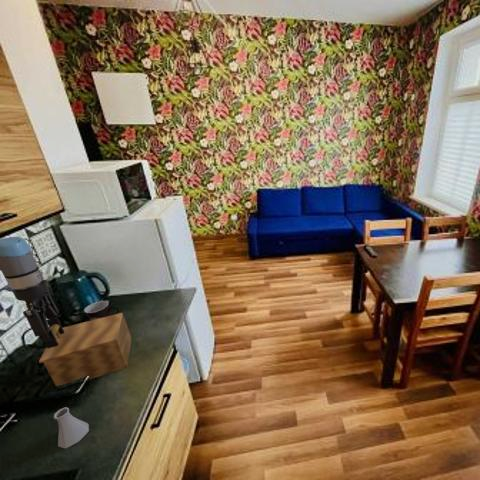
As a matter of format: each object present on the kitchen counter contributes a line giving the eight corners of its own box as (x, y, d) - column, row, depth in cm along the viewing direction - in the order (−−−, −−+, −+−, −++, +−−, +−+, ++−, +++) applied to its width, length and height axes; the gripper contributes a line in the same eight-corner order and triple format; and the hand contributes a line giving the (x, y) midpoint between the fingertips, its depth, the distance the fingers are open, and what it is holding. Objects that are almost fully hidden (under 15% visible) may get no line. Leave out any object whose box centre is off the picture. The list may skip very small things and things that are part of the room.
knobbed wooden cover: (39, 363, 87) (31, 348, 84) (56, 331, 100) (50, 317, 98) (116, 340, 96) (111, 326, 93) (122, 314, 110) (118, 301, 107)
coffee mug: (86, 329, 120) (79, 311, 116) (105, 317, 128) (98, 299, 124) (107, 333, 117) (100, 315, 114) (124, 320, 125) (118, 303, 121)
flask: (83, 418, 83) (72, 396, 79) (94, 430, 80) (82, 408, 76) (53, 439, 77) (39, 417, 74) (63, 454, 74) (49, 431, 70)
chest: (58, 390, 92) (43, 362, 87) (72, 356, 106) (59, 330, 101) (127, 367, 101) (116, 341, 96) (131, 338, 115) (122, 314, 110)
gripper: (32, 296, 79) (61, 354, 88) (53, 268, 94) (77, 320, 103) (-4, 303, 76) (31, 363, 85) (25, 273, 91) (51, 327, 100)
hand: (56, 339), depth 94 cm, fingers closed on knobbed wooden cover, 6 cm apart
